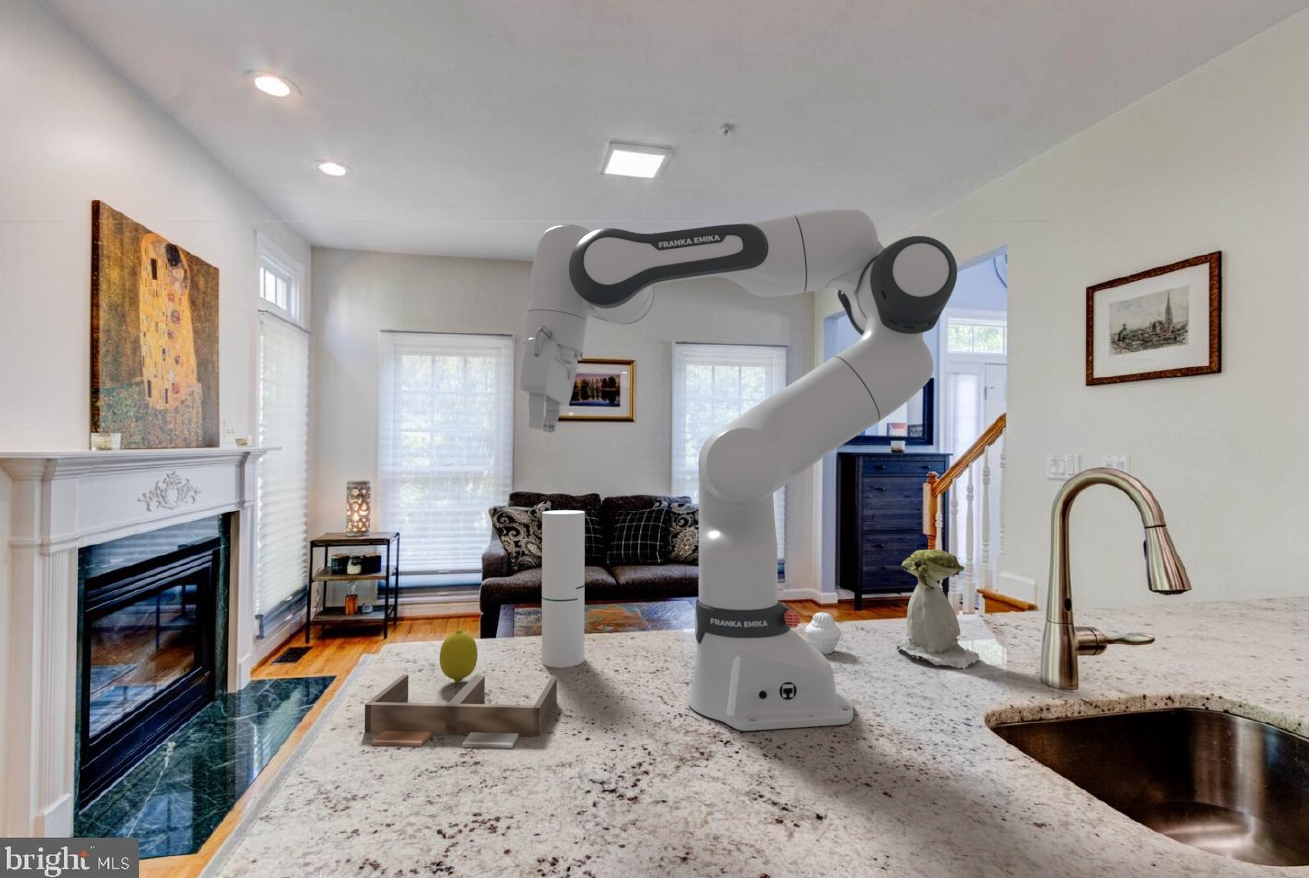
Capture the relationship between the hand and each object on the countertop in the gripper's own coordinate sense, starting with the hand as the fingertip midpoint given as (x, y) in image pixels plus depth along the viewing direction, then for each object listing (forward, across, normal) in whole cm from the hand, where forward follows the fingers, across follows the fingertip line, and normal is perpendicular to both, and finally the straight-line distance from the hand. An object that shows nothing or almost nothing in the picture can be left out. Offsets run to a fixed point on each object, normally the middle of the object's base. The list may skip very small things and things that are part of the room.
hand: (542, 430), depth 93 cm
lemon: (+40, +5, +9) cm, 41 cm away
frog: (+30, +20, -69) cm, 78 cm away
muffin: (+32, +22, -50) cm, 63 cm away
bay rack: (+39, -9, +4) cm, 40 cm away
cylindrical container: (+38, +16, -5) cm, 41 cm away
